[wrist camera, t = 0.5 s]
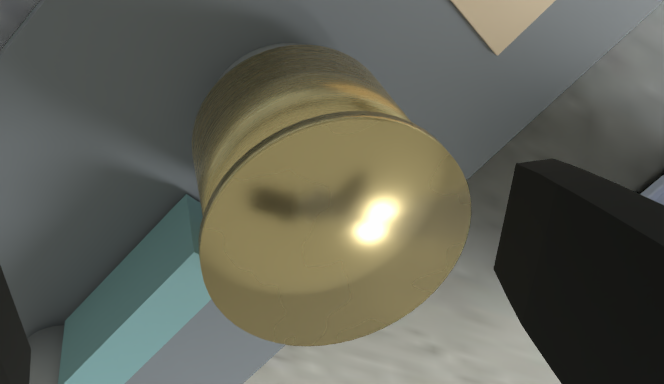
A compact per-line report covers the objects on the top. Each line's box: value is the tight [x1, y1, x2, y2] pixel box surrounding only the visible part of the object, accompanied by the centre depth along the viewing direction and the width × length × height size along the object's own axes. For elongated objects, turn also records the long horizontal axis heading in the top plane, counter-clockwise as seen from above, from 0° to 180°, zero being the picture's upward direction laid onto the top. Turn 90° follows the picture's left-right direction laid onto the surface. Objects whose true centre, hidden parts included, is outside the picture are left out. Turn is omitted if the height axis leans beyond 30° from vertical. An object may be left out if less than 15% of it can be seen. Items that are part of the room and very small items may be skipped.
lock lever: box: [28, 194, 211, 384], centre depth 18 cm, size 8×2×3 cm, turn 134°
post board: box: [0, 0, 664, 384], centre depth 17 cm, size 13×25×2 cm, turn 134°
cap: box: [192, 45, 471, 346], centre depth 15 cm, size 6×6×4 cm
